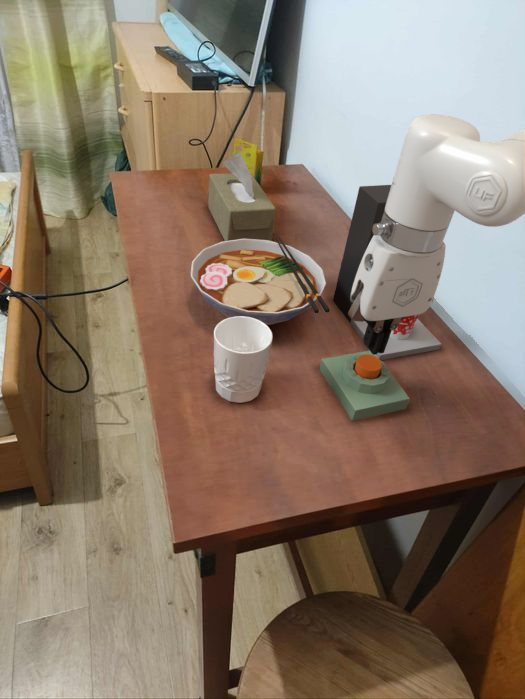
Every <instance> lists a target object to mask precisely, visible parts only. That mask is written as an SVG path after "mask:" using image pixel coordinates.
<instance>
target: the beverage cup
mask: <svg viewBox="0 0 525 699" xmlns="http://www.w3.org/2000/svg"><path fill="white" fill-rule="evenodd" d="M419 316H420V314H418V315H412V316H406V317H405V318H404V319H402V320H401V321H400V323H399V325H398V327H397V328H396V329H395V330H392V331H391V334H390V337H391V338H394V339H401V340H402V339H406V338H407V337H409V335H410V333H411V330H412V328H413V326H414V324H415V322H416V320H417V318H419Z"/></svg>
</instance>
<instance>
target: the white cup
mask: <svg viewBox="0 0 525 699" xmlns="http://www.w3.org/2000/svg"><path fill="white" fill-rule="evenodd" d="M273 339H274V338H273V332H272V329H270V327H269V326H268V325H266V324H264V323H263V322H261V321H259V320H257V319H254V318H251V317H245V316H236V317H230V318H228V317H227V318H225V319H222V320H221V321H220V322H218V323H217V324H216V325H215V327H214V329H213V371H214V372H213V373H214V384H215V385H214V386H215V391H216V393H217V394H218V395H219V396H220V398H223V399H225V400H226V401H228V402H230V403H231V402H232V403H237V404H238V403H240V404H241V403H247V402H251V401H252V400H254V399H255V398H257V397H258V396H259V394H260V393H261V390H262V387H263V381H264V379H265V375H266V370H267V366H268V362H269V357H270V352H271V347H272V343H273Z"/></svg>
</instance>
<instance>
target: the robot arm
mask: <svg viewBox="0 0 525 699" xmlns="http://www.w3.org/2000/svg"><path fill="white" fill-rule="evenodd" d="M390 185H391V188H390V192H389V195H388V199H387V202H386V206H385V209H384V213H383V216H382V220H381V222H380V223H378V224H374V225H373V227H372V232H373V234H374V236H373V238H372V239H371V241H370V243H369V245H368V247H367V249H366V251H365V253H364V256H363V258H362V260H361V263H360V265H359V268H358V271H357V274H356V277H355V280H354V283H353V287H352V291H351V297H350V300H351V302H353V304H352V306H351V308H350V310H349V312H348V315H349V316H350V318H351V319H352V320H353V321H360V322H363V321H366V323H367V324H368V325H367V328H366V332H365V335H364V338H363V339H362V341H363V344H364V345H365V347H366V348H367V349H368V351H370V352H371V353H372V354H373V355H375V354H377V353H384V351H385V348H386V345H387V343H388V340H389V337H390V334H391V331H392V330H395V329H396V328H397V327H398V325H399V323H400V321H401V320H402V319H404V318H405V317H406V316H412V315H418V314H419V315H421V314H424V313H426V312H428V310H429V309H430V307H431V305H432V302H433V300H434V298H435V295H436V292H437V289H438V286H439V282H440V278H441V275H442V272H443V267H444V262H445V256H446V248H447V247H446V243H445V242H444V239H445V237H446V234H447V232H448V229H449V226H450V224H451V222H452V219H453V216H454V213H455V212H456V213H458V214H459V215H461V216H462V217H464V218H466V219H467V220H469V221H471V222H472V223H475V224H477V225H480V226H484V227H492V228H495V227H496V228H497V227H503V226H506V225H509V224H512V223H513V222H515V221H517V220H518V219H519V218H521V217H522V216H523V215H525V128H522V129H519V130H518V131H515V132H514V133H512V134H510V135H507V136H506V137H504V138H501V139H499V140H495V141H488V142H481V135H480V131H479V130H478V129H477V127H476V126H475V125H473V124H472V123H470V122H468V121H466V120H464V119H461V118H459V117H455V116H451V115H446V114H445V115H444V114H437V113H435V114H434V113H430V114H429V113H428V114H423V115H419V116H418V117H416V118H415V119H413V120H412V121H411V123H410V124H409V126H408V128H407V130H406V134H405V136H404V140H403V143H402V146H401V149H400V153H399V158H398V160H397V164H396V168H395V172H394V175H393V179H392V182H391V184H390ZM419 315H418V316H419Z"/></svg>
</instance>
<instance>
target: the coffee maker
mask: <svg viewBox="0 0 525 699" xmlns="http://www.w3.org/2000/svg"><path fill="white" fill-rule="evenodd" d="M391 185H392V184H380V185H379V184H378V185H360V186H359V187H358V192H357V195H356V200H355V204H354V208H353V213H352V217H351V221H350V225H349V230H348V232H347V233H348V234H347V239H346V242H345V246H344V251H343V255H342V260H341V264H340V268H339V272H338V277H337V281H336V283H335V289H334V294H333V297H332V302H333V303H334V305H335V306H336V307H337V309H338V310H339V312H341V314H342V315H343V317H344V318H345V319H346V321H348V323H349V324H350V326H351V327H352V328H353V329H354V331H355V332H356V333H357V335H358V336H359V337H360V338H361V340H363V338H364V335H365V332H366V328H367V325H368V324H367V323H366V321H363V322H360V321H353V320H352V319H351V318H350V316H349V315H348V312H349V310H350V308H351V306H352V304H353V302H351V300H350V297H351V291H352V287H353V283H354V280H355V277H356V274H357V271H358V268H359V265H360V263H361V260H362V258H363V256H364V253H365V251H366V249H367V247H368V245H369V243H370V241H371V239H372V238H373V236H374V234H373V232H372V227H373V225H374V224H378V223H380V222H381V220H382V216H383V213H384V209H385V206H386V202H387V199H388V195H389V192H390V188H391ZM418 318H419V317H418ZM418 318H417V320H416V322H415V324H414V326H413V328H412V330H411V333H410V335H409V337H407V338H406V339H402V340H401V339H394V338H391V337H389V340H388V343H387V345H386V348H385V351H384V353H377V354H376V356H377V357H378V358H379V359H380V360H381V361H383V360H388V359H389V360H390V359H393V358H399V357H405V356H410V355H415V354H420V353H426V352H432V351H437V350H440V349H441V346H442V343H441V342H440V341H439V340H438V339H437V337H435V335H434V334H433V333H432V332H431V331H430V330H429V329H428V328H427V327H426V326H425V325H424V323H423V322H422V321H420V319H418Z"/></svg>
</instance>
